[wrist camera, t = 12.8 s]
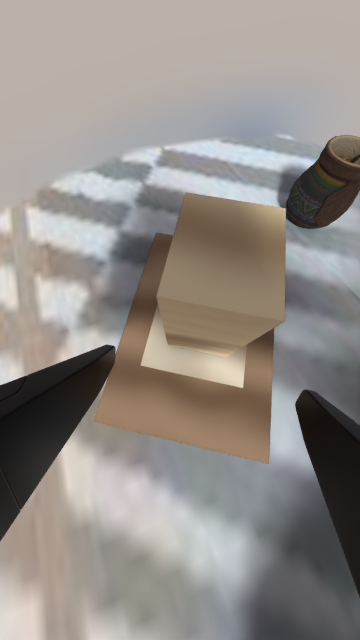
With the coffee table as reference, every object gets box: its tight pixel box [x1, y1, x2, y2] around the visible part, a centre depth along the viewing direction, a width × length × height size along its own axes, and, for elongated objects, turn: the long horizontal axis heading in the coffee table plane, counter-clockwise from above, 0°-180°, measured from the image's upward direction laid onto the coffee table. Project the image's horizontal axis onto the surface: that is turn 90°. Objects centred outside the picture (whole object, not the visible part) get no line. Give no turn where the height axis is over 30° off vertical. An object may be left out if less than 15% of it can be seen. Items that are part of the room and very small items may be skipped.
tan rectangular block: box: [156, 193, 286, 357], centre depth 13 cm, size 6×5×10 cm
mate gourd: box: [286, 135, 360, 229], centre depth 21 cm, size 7×8×10 cm
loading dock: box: [94, 233, 274, 464], centre depth 19 cm, size 20×14×3 cm
